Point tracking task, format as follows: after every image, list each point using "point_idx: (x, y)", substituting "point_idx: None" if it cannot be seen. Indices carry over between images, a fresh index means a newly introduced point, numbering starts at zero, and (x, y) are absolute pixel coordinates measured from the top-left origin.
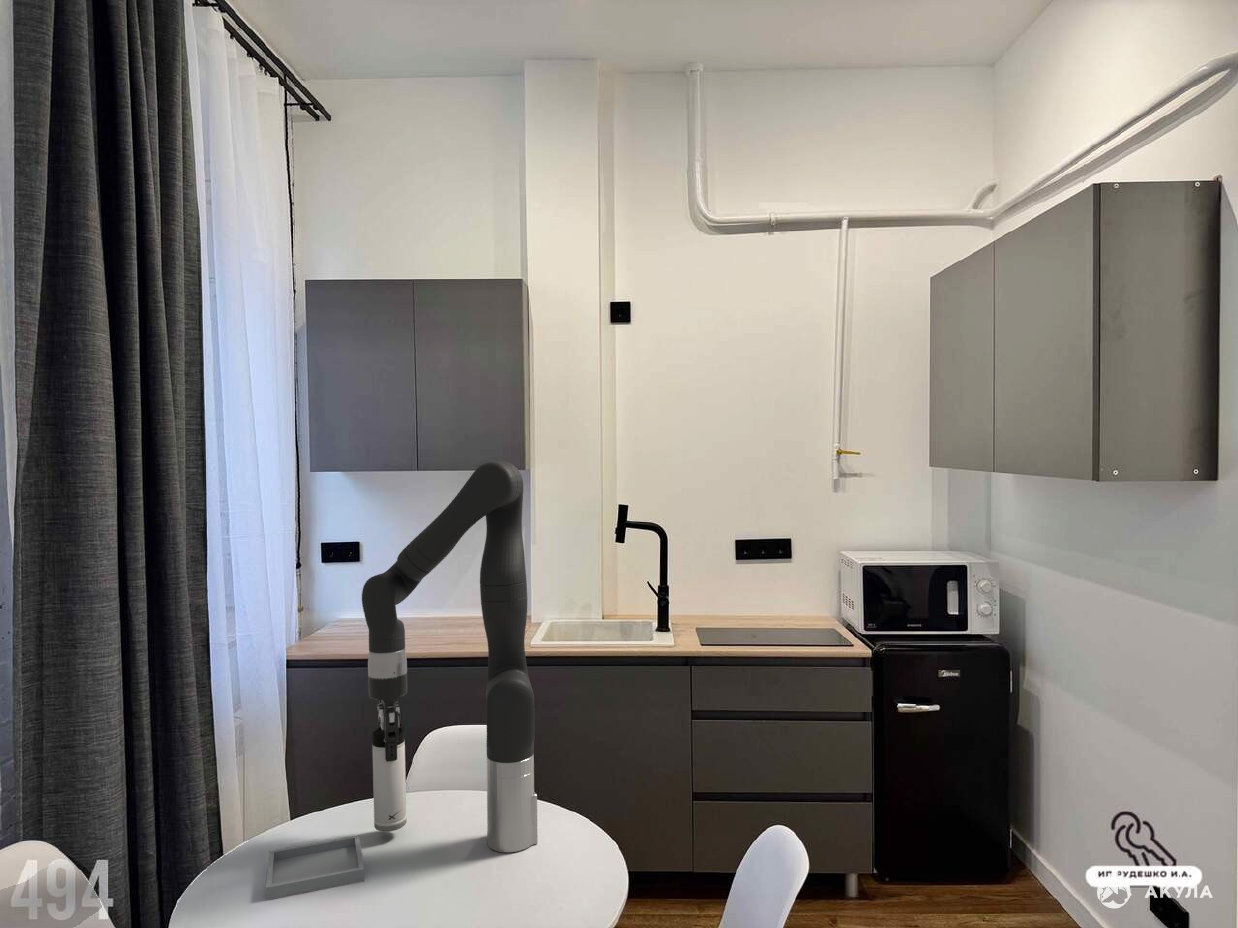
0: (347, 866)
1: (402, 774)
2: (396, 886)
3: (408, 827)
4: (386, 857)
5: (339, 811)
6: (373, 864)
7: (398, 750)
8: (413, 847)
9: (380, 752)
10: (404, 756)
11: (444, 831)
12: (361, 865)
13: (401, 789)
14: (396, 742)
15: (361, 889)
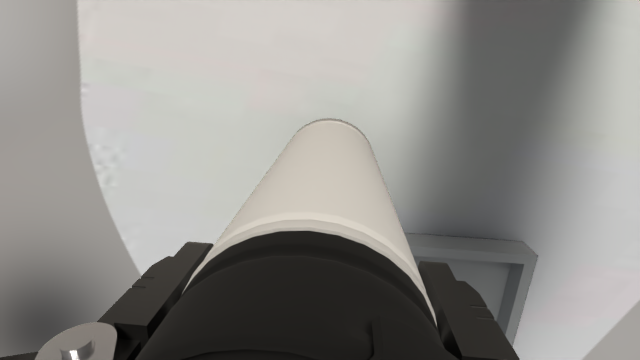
0: (452, 267)
1: (376, 178)
2: (594, 184)
3: (299, 103)
4: (440, 181)
5: (140, 243)
6: (457, 213)
7: (416, 269)
8: (423, 112)
9: None
10: (356, 190)
11: (372, 8)
12: (516, 257)
13: (376, 166)
14: (491, 353)
15: (555, 250)
